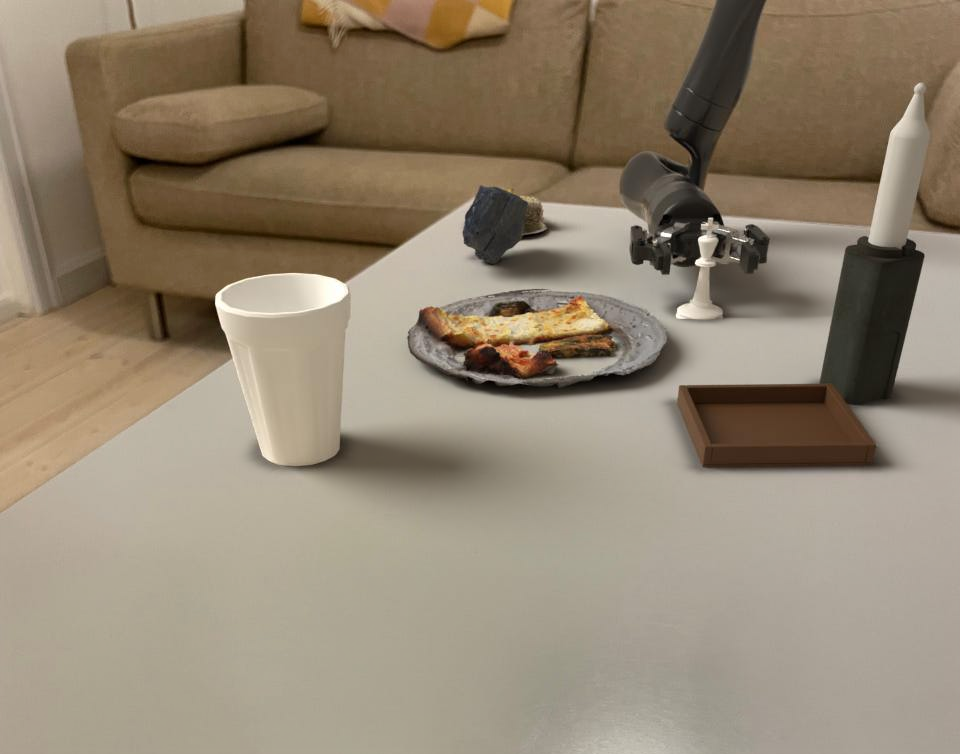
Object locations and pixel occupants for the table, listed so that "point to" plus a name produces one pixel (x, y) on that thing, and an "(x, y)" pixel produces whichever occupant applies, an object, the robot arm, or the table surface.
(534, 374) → the food plate
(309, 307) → the cup
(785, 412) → the serving tray
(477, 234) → the stone
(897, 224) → the candle
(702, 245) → the chess piece
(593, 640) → the table surface
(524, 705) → the table surface
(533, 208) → the cake
